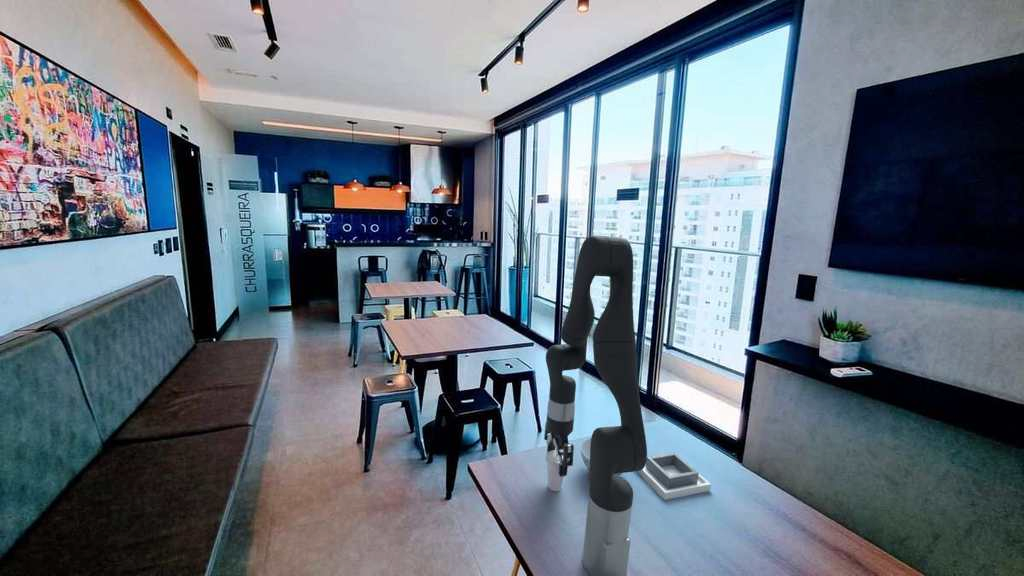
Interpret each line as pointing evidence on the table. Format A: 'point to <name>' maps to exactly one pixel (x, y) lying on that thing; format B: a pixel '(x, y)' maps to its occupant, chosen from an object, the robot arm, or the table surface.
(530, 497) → the table surface
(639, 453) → the robot arm
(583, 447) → the chinaware
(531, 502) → the table surface
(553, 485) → the smoothie
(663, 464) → the white square tray
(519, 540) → the table surface
